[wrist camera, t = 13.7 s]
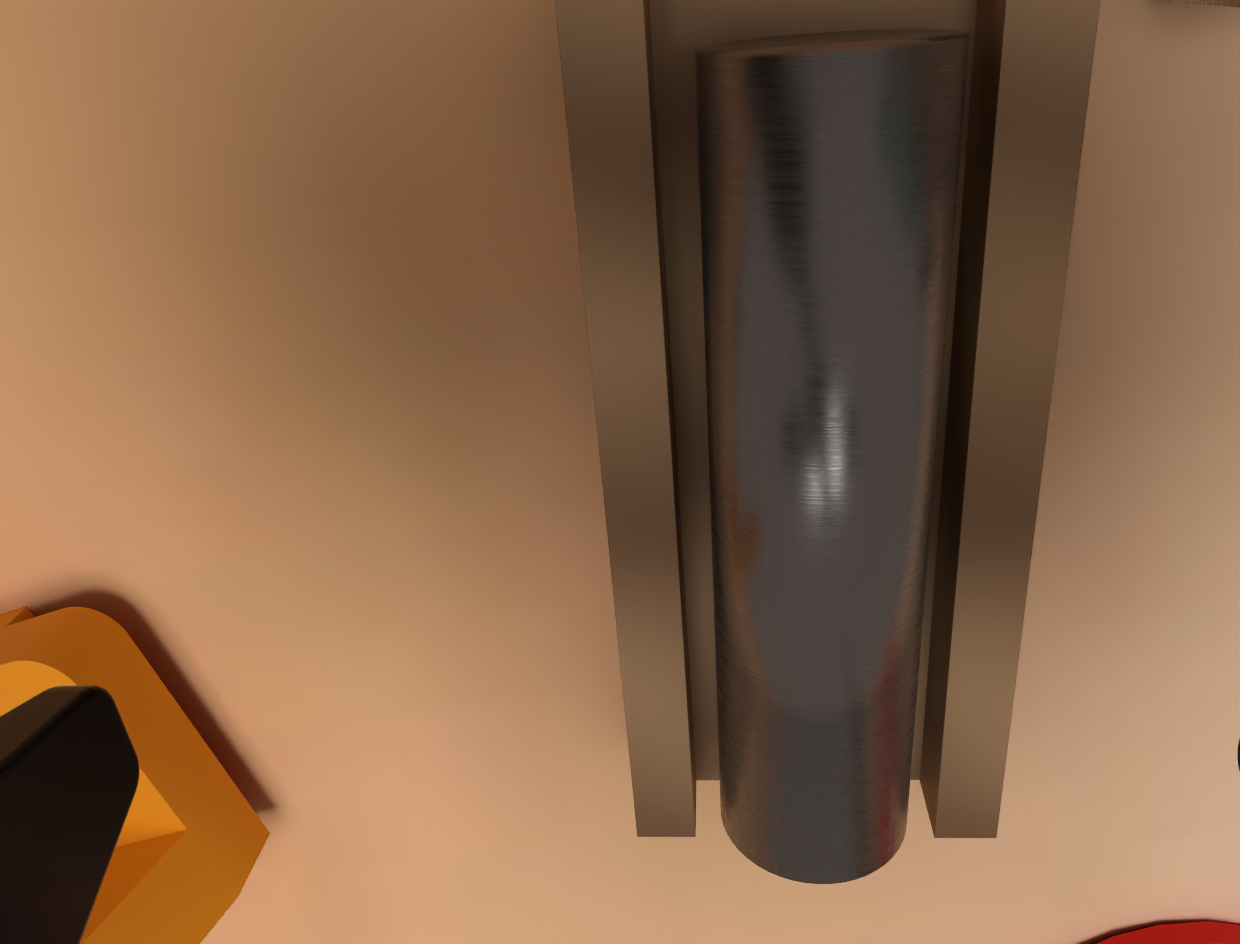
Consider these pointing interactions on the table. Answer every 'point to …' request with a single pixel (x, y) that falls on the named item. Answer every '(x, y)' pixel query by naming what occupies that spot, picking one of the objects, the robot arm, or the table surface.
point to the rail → (676, 367)
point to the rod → (823, 422)
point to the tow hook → (1181, 934)
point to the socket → (1214, 2)
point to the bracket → (143, 783)
